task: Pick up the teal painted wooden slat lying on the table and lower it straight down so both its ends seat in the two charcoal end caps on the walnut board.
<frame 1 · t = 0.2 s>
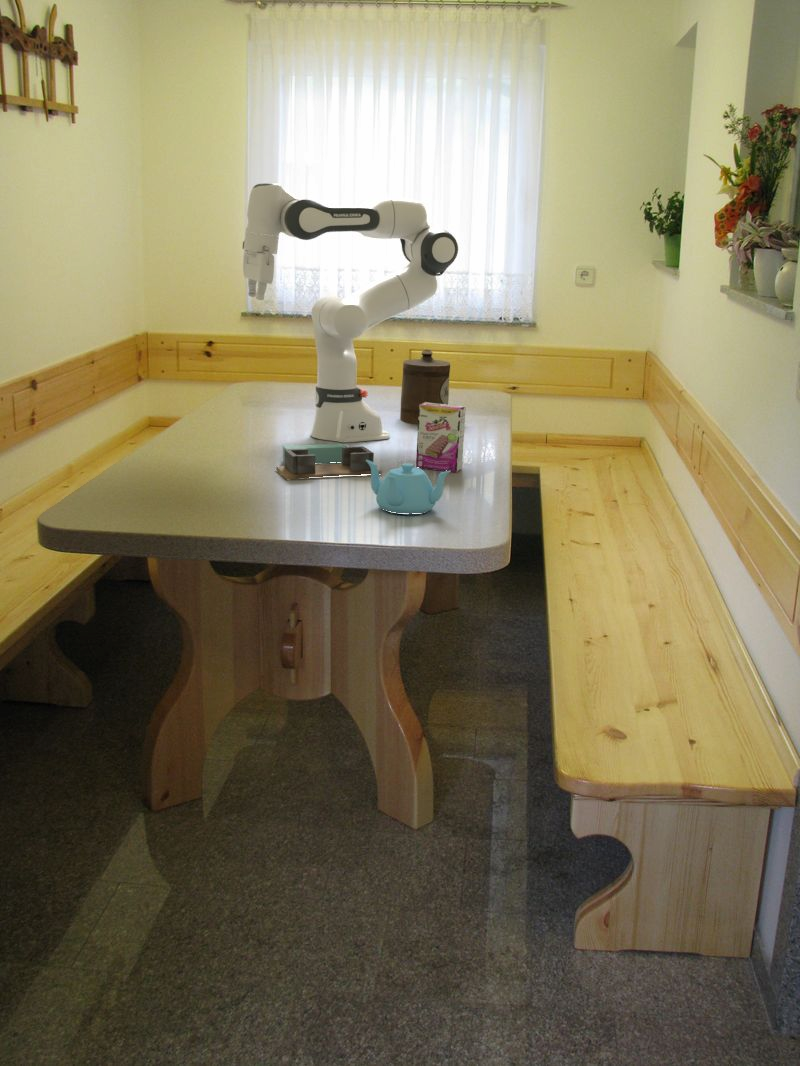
hand: (255, 298, 297), 39 cm above the table, tool pointing down, fingers open, 8 cm apart
candy bar box: (438, 469, 281), on the table
teapot: (403, 511, 241), on the table
cap rail: (328, 473, 272), on the table
slat: (315, 463, 283), on the table
wooden container: (423, 420, 346), on the table
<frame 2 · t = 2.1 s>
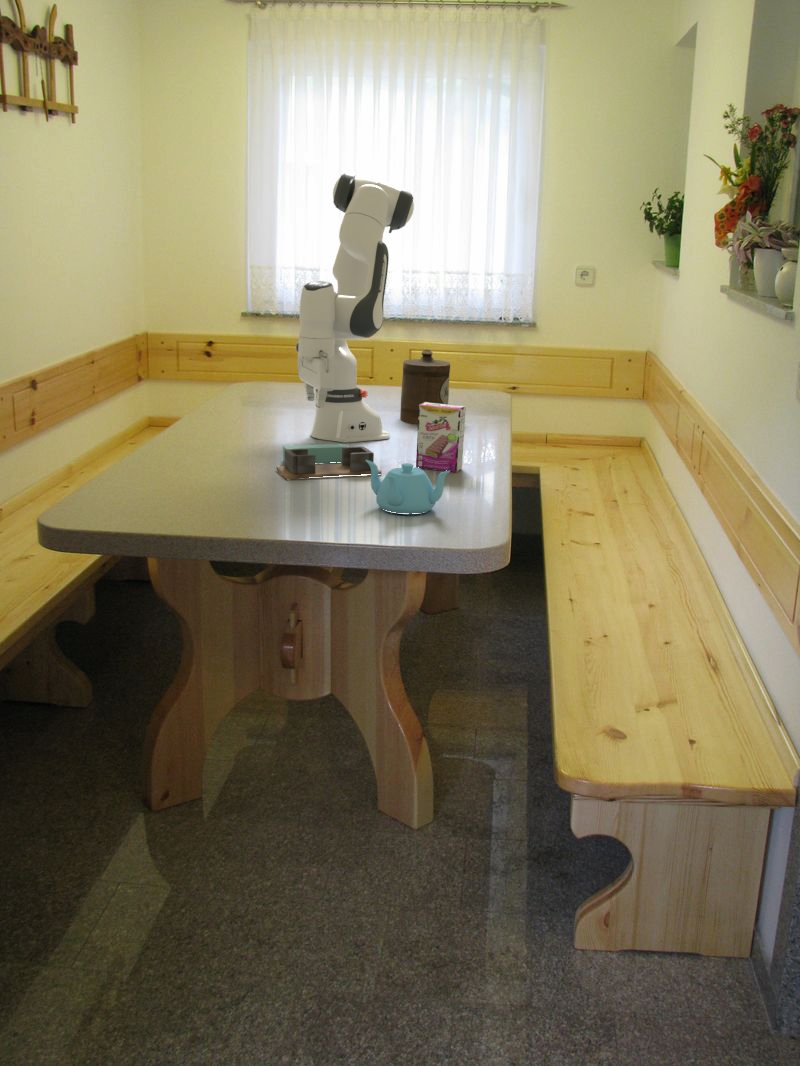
hand: (315, 403, 279), 15 cm above the table, tool pointing down, fingers open, 8 cm apart
nothing on the table moved.
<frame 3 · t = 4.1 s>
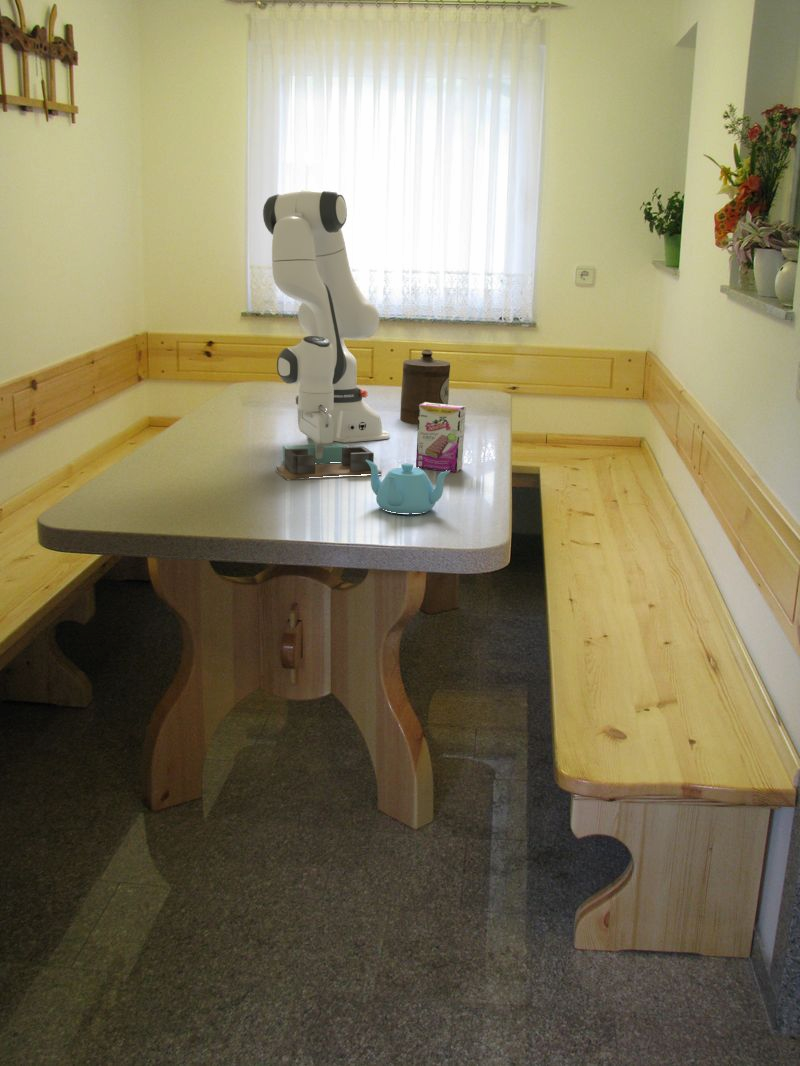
hand: (315, 455, 283), 2 cm above the table, tool pointing down, fingers closed on slat, 4 cm apart
slat: (315, 463, 283), on the table, touching gripper
everything else where it was.
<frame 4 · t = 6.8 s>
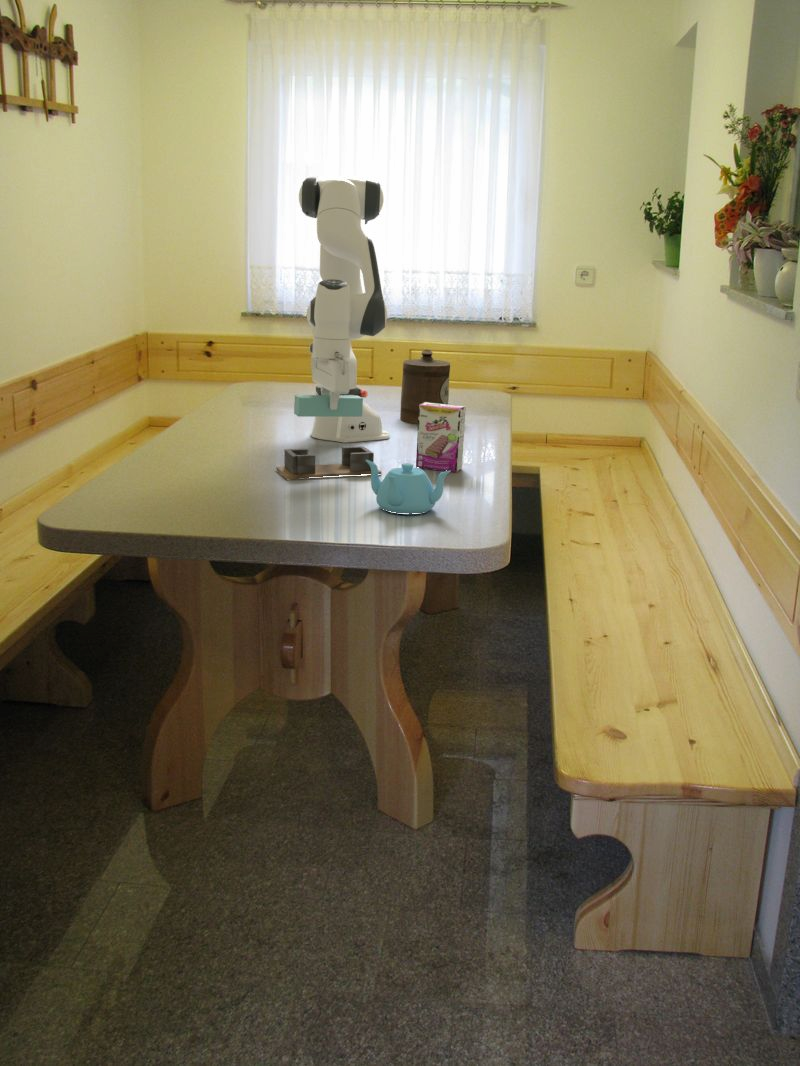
hand: (329, 407, 268), 16 cm above the table, tool pointing down, fingers closed on slat, 4 cm apart
slat: (328, 415, 268), point 14 cm above the table, touching gripper
everything else where it was.
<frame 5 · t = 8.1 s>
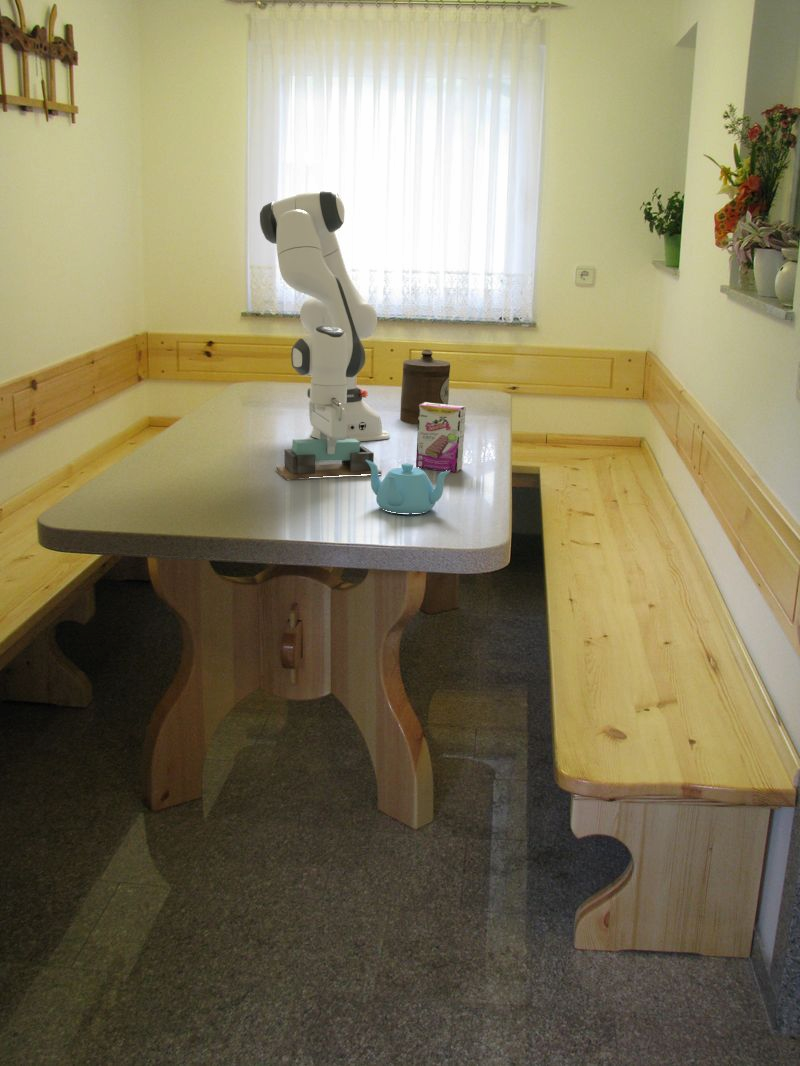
hand: (327, 451, 271), 5 cm above the table, tool pointing down, fingers closed on slat, 4 cm apart
slat: (325, 458, 271), point 4 cm above the table, touching gripper
everything else where it was.
when the fingers open (4 cm above the table, at t = 9.1 s): slat stays where it is, resting on cap rail.
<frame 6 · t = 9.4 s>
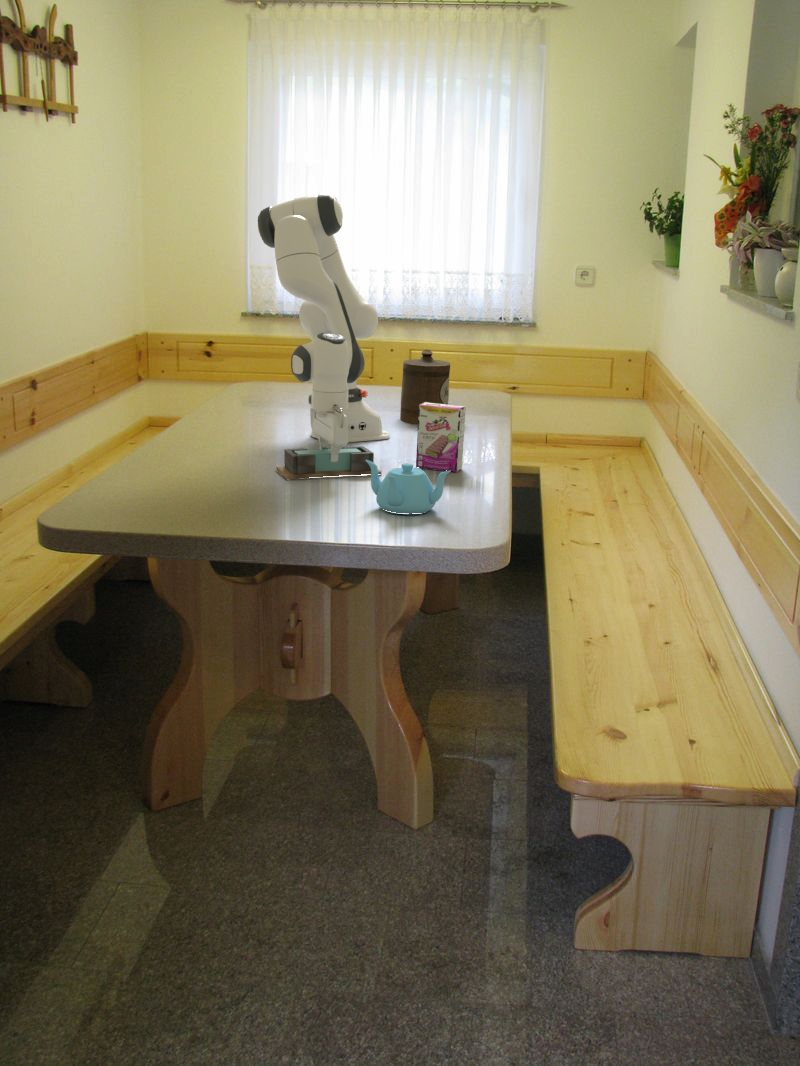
hand: (328, 457, 271), 4 cm above the table, tool pointing down, fingers open, 7 cm apart
slat: (327, 469, 272), point 1 cm above the table, touching cap rail
everything else where it was.
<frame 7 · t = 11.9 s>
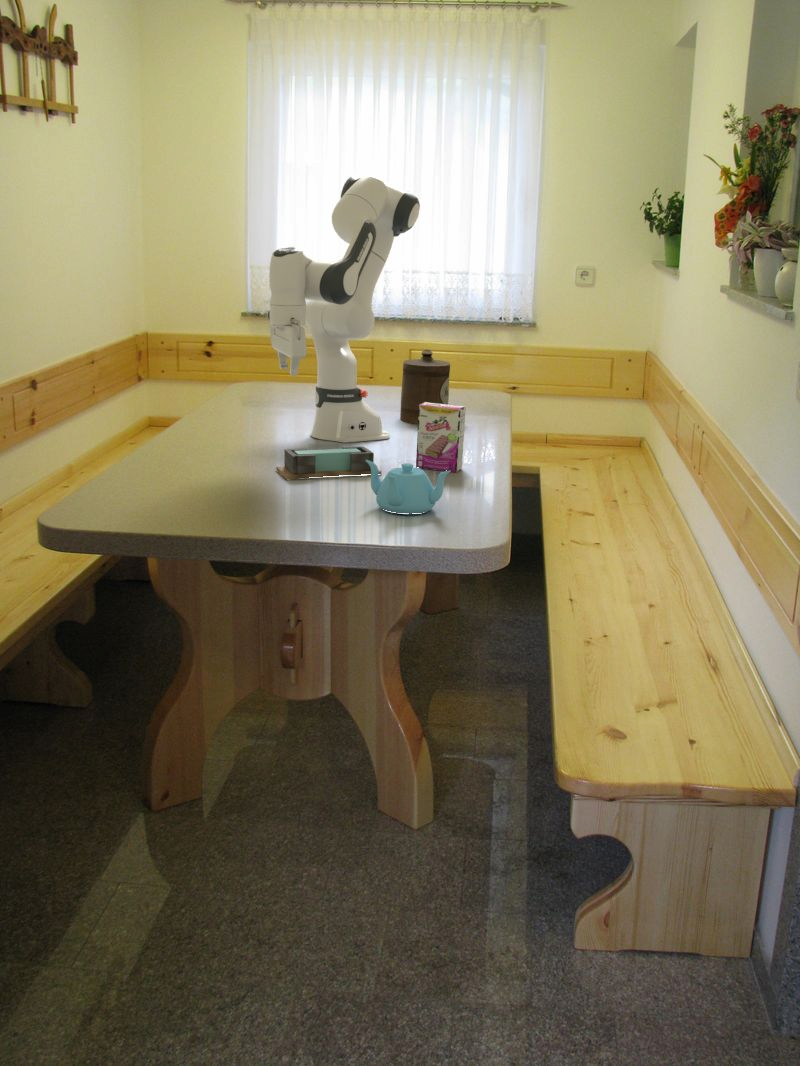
hand: (288, 372, 276), 23 cm above the table, tool pointing down, fingers open, 8 cm apart
nothing on the table moved.
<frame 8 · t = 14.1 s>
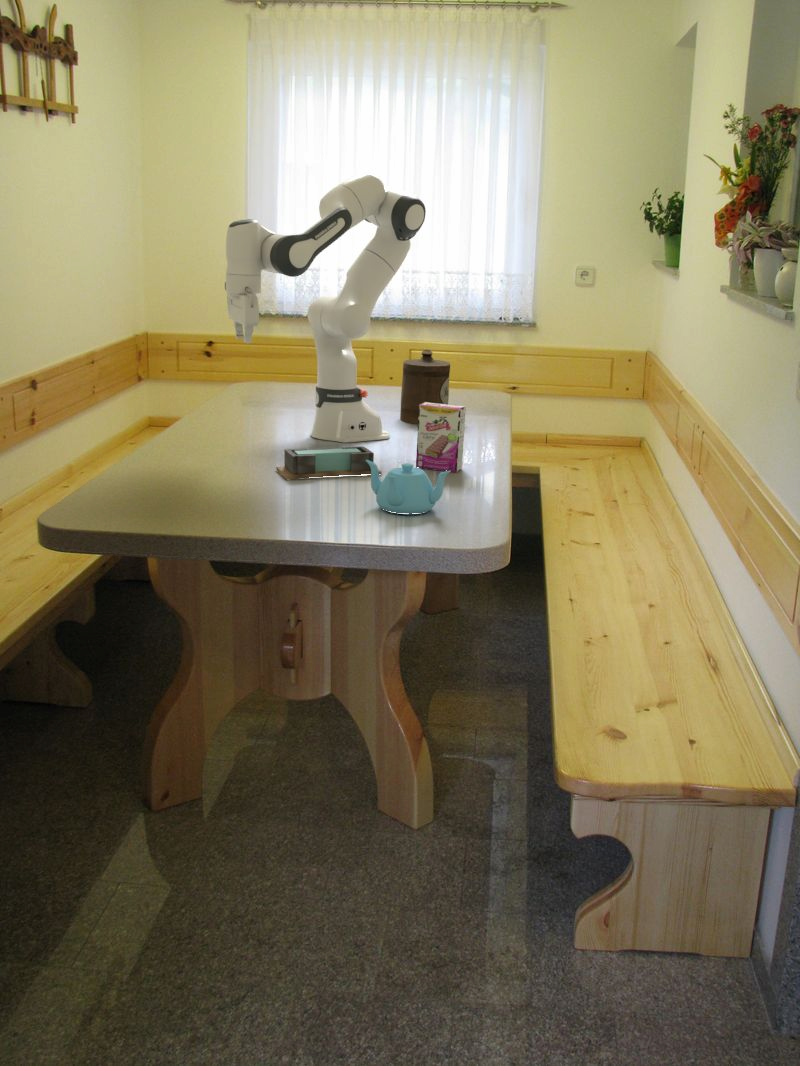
hand: (243, 340, 284), 29 cm above the table, tool pointing down, fingers open, 8 cm apart
nothing on the table moved.
at the end: slat 0.3 cm off-centre on the cap rail, point 1.0 cm above the cap rail's base; slat tilted 0°; the gripper is holding nothing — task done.
